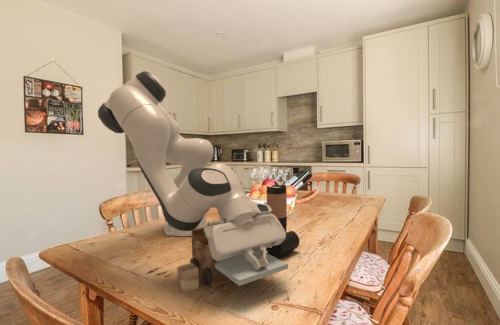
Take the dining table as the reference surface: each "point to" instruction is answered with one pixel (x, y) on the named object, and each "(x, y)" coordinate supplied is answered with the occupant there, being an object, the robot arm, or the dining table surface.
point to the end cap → (284, 245)
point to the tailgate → (249, 268)
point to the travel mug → (278, 203)
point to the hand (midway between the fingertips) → (262, 267)
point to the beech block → (187, 277)
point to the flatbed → (206, 260)
